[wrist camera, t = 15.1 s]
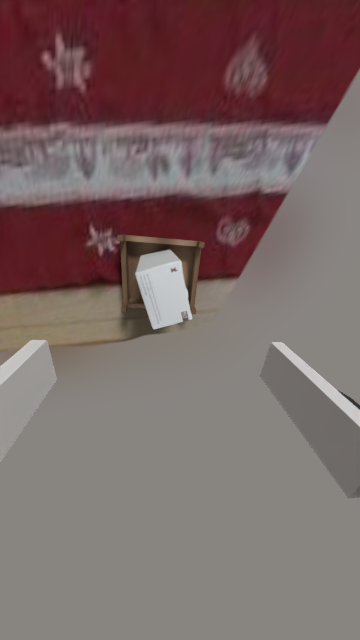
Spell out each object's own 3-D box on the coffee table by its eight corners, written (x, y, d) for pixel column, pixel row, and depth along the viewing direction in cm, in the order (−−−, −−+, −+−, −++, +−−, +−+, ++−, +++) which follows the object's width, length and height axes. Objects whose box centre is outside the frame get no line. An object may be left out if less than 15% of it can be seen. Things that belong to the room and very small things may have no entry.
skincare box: (140, 255, 34) (129, 269, 21) (171, 247, 34) (181, 256, 21) (152, 297, 38) (150, 331, 25) (181, 290, 38) (194, 321, 25)
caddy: (126, 300, 39) (121, 311, 33) (123, 234, 33) (117, 235, 28) (190, 303, 41) (195, 314, 35) (197, 241, 35) (204, 242, 30)
